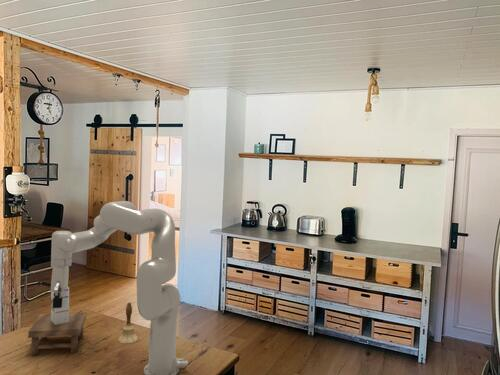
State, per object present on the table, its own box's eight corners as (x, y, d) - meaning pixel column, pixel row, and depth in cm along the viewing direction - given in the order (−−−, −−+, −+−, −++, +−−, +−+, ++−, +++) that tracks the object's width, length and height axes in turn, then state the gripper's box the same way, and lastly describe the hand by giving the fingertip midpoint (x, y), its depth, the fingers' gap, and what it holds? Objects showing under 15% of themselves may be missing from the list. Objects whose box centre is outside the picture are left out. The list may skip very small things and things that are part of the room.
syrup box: (69, 322, 160) (70, 286, 159) (53, 325, 156) (54, 289, 155) (65, 317, 164) (66, 283, 163) (49, 320, 160) (50, 285, 160)
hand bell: (114, 342, 166) (115, 305, 166) (123, 334, 174) (125, 299, 174) (132, 345, 165) (134, 307, 164) (141, 337, 173) (142, 301, 172)
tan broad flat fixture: (85, 335, 172) (86, 312, 171) (78, 354, 154) (79, 328, 154) (40, 337, 167) (40, 314, 167) (27, 357, 150) (28, 331, 149)
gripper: (56, 257, 167) (54, 297, 168) (45, 267, 150) (44, 311, 151) (75, 256, 169) (73, 296, 169) (67, 266, 152) (65, 310, 153)
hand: (60, 303), depth 160 cm, fingers open, 9 cm apart
